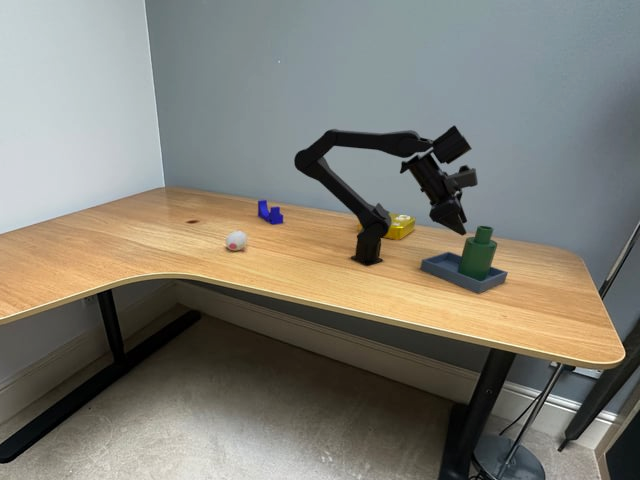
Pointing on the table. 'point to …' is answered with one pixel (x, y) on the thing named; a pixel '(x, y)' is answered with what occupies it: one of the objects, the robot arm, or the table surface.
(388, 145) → the robot arm
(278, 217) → the cable clip
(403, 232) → the element tile
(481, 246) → the bottle
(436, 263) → the tray
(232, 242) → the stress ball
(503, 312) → the table surface
